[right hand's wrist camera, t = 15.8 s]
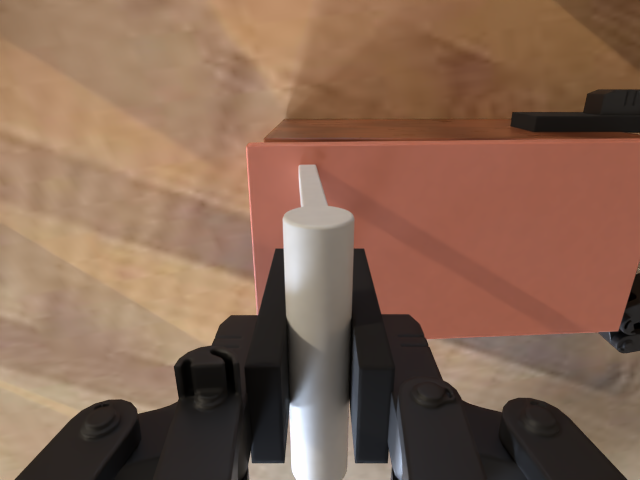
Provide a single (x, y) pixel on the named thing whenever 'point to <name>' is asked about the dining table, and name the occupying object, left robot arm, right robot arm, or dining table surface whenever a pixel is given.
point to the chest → (416, 131)
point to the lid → (437, 250)
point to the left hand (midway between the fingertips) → (507, 214)
